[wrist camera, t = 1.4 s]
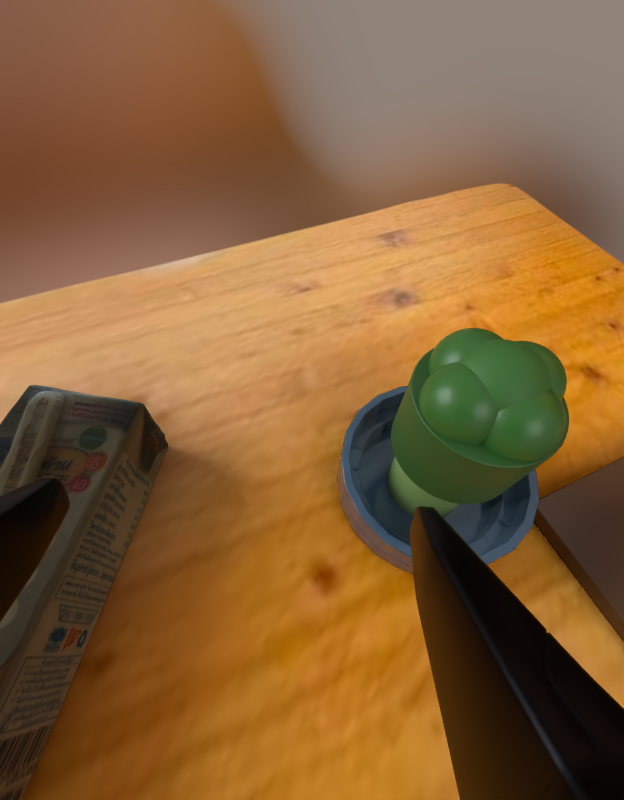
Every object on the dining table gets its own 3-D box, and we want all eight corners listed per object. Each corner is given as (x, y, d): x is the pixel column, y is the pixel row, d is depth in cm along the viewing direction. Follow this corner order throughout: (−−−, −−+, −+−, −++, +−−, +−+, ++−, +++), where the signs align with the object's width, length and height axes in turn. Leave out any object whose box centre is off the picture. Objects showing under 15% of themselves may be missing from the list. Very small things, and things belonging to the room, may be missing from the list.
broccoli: (493, 509, 24) (657, 395, 13) (406, 552, 22) (505, 466, 11) (436, 426, 27) (525, 279, 16) (356, 459, 26) (394, 322, 14)
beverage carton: (178, 443, 27) (145, 392, 21) (25, 826, 16) (-119, 923, 11) (76, 426, 27) (17, 373, 22) (-135, 786, 17) (-349, 859, 11)
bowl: (544, 531, 24) (583, 513, 20) (390, 613, 21) (406, 608, 18) (441, 395, 29) (459, 364, 26) (311, 447, 27) (311, 419, 23)
